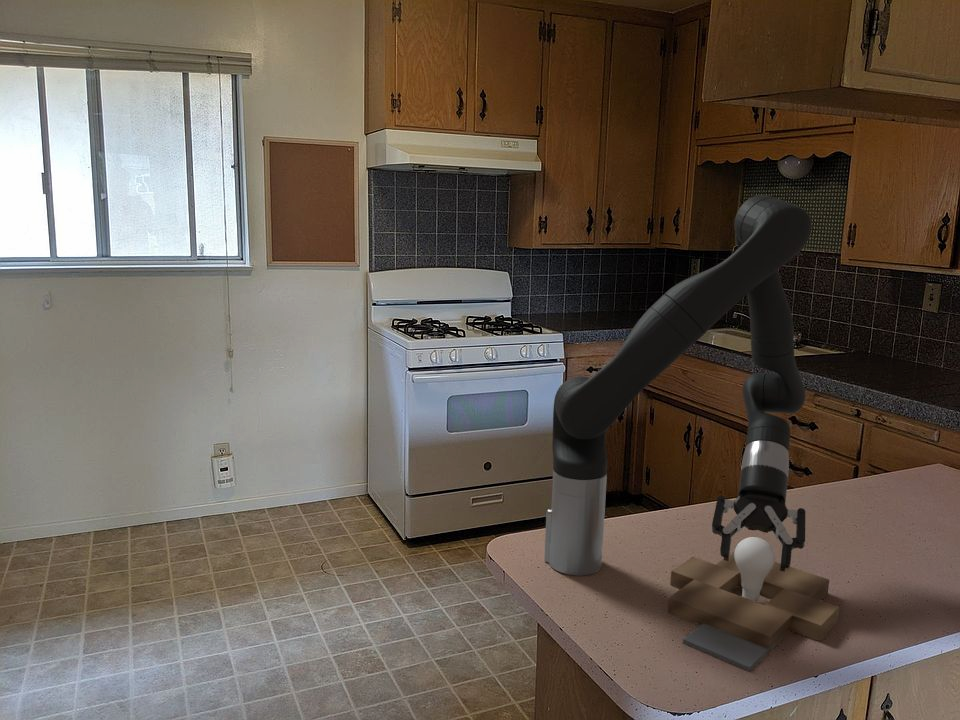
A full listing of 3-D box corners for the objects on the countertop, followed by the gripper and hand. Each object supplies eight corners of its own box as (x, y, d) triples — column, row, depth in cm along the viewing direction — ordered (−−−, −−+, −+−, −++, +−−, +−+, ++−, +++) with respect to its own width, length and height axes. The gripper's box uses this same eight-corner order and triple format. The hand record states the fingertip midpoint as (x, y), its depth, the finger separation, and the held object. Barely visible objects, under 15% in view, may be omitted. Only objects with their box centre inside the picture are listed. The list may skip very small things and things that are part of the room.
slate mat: (682, 642, 113) (683, 639, 113) (711, 619, 119) (711, 616, 119) (749, 671, 106) (749, 667, 106) (775, 645, 113) (775, 641, 113)
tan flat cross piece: (644, 602, 124) (645, 588, 124) (713, 555, 142) (714, 542, 141) (797, 664, 108) (799, 648, 108) (854, 602, 126) (856, 588, 125)
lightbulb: (738, 589, 129) (744, 527, 127) (775, 601, 125) (782, 538, 123) (724, 603, 125) (729, 539, 122) (762, 616, 121) (768, 550, 119)
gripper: (720, 457, 131) (707, 547, 123) (811, 469, 126) (804, 564, 118) (720, 477, 137) (708, 564, 129) (807, 490, 132) (800, 581, 124)
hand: (754, 564), depth 124 cm, fingers open, 8 cm apart
